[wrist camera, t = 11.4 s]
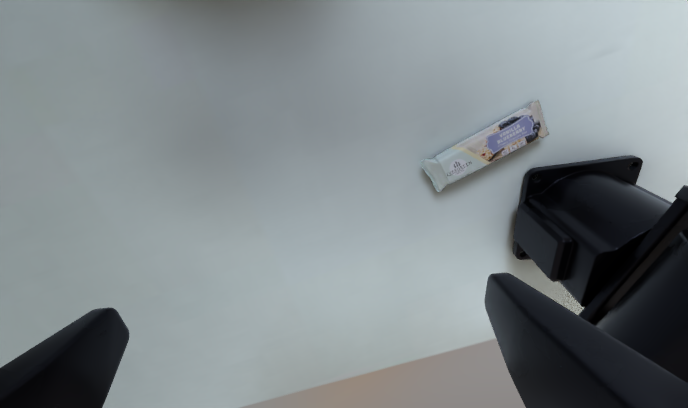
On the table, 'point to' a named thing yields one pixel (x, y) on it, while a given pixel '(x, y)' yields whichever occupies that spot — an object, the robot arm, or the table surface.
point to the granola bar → (486, 146)
